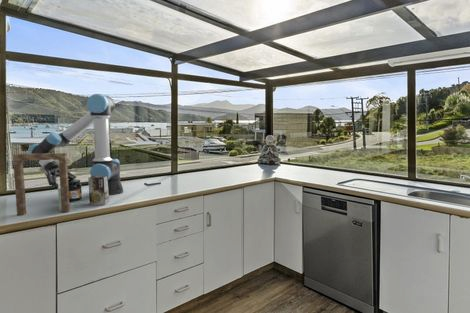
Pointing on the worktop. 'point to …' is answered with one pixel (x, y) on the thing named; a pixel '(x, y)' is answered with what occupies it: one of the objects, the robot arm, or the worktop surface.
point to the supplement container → (74, 190)
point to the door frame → (20, 178)
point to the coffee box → (98, 190)
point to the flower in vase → (69, 162)
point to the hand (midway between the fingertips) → (71, 189)
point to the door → (59, 198)
